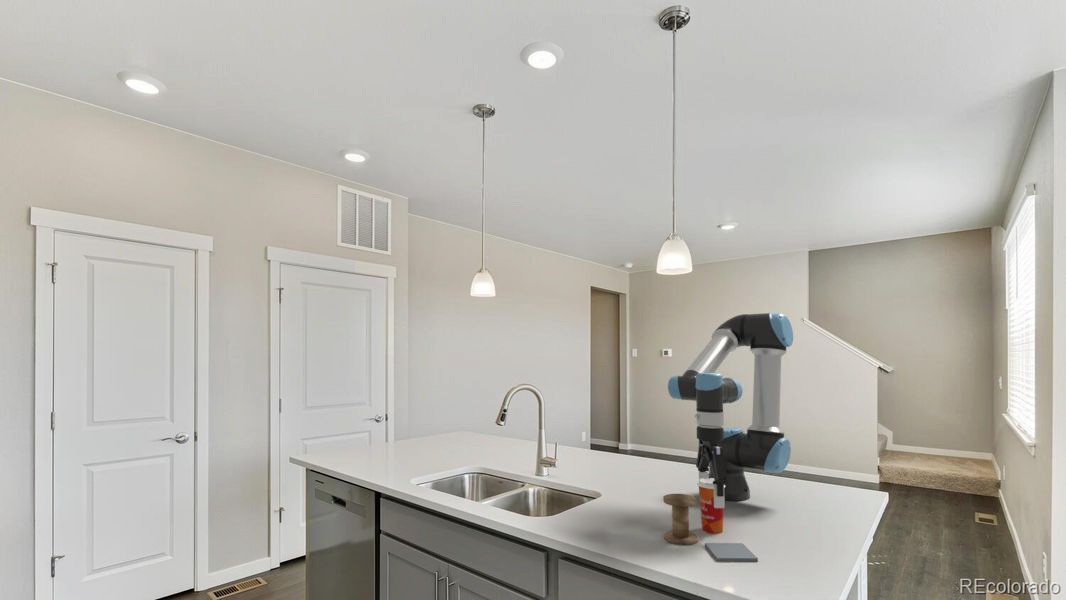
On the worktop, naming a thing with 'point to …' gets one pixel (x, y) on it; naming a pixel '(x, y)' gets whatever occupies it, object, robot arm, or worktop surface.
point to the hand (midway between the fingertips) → (711, 500)
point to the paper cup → (709, 507)
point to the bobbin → (680, 519)
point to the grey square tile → (731, 552)
